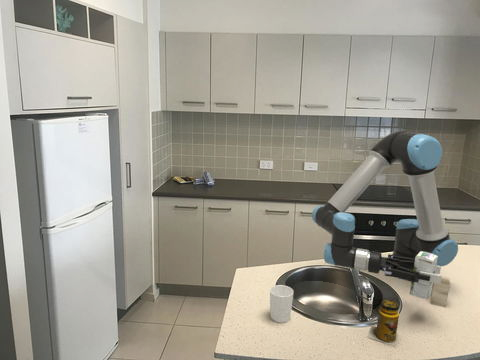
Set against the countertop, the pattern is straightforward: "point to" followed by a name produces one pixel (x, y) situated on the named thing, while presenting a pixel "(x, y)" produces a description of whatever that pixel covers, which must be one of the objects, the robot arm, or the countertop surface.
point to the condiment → (386, 323)
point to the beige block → (440, 292)
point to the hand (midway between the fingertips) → (440, 274)
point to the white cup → (280, 303)
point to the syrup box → (424, 264)
